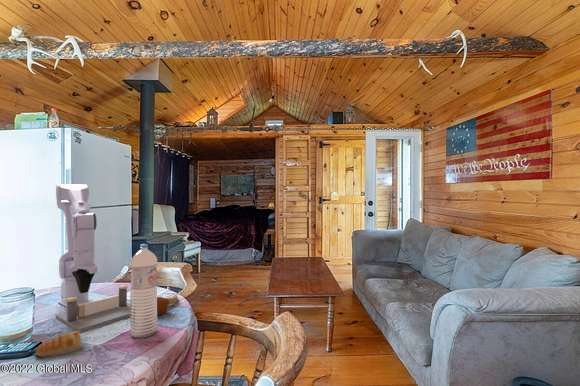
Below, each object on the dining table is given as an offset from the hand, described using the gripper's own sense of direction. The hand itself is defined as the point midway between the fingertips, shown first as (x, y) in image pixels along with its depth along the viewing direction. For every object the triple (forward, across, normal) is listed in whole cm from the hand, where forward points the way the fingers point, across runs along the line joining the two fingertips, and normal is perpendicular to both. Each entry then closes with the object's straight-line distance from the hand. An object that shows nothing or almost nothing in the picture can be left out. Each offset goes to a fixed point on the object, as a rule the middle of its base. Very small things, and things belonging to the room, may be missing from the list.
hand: (84, 292), depth 103 cm
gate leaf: (+6, +5, +2) cm, 8 cm away
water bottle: (+8, +29, +4) cm, 30 cm away
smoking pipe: (+8, +15, +19) cm, 25 cm away
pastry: (+8, +21, -13) cm, 26 cm away
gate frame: (+7, +5, +3) cm, 9 cm away
